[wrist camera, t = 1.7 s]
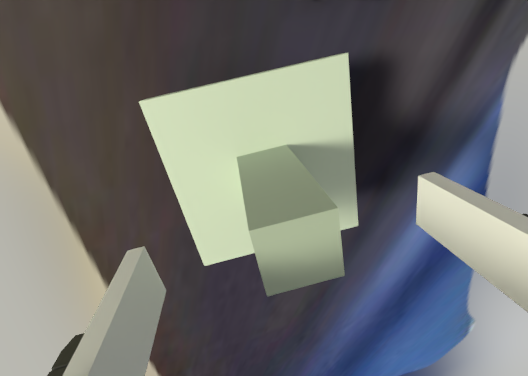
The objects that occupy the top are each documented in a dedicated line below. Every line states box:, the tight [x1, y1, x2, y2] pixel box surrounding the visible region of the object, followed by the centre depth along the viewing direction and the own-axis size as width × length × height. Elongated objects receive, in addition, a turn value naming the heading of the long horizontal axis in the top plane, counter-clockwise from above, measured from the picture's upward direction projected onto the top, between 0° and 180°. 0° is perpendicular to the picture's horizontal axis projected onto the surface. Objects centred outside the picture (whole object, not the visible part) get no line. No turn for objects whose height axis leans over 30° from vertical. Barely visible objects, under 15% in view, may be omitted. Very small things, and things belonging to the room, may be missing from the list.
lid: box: [139, 53, 358, 296], centre depth 15 cm, size 13×13×10 cm
